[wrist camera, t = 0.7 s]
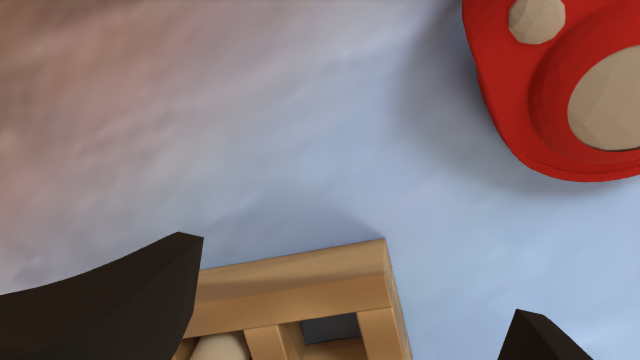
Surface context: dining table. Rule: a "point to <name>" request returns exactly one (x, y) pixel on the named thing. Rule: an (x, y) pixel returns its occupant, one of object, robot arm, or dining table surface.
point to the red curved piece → (561, 82)
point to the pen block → (303, 304)
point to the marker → (222, 347)
